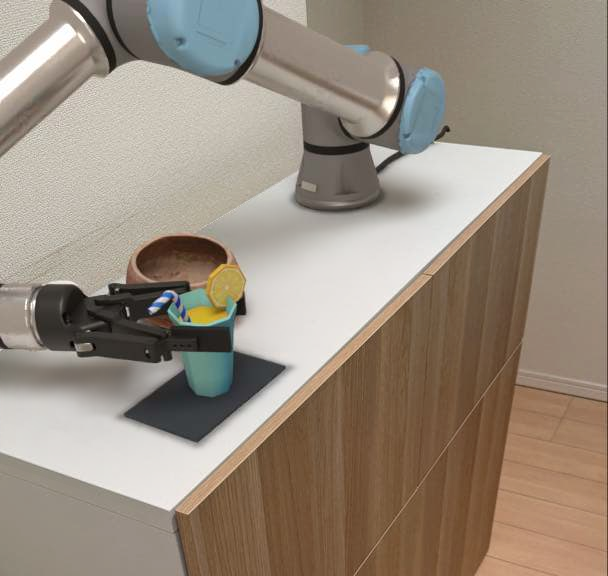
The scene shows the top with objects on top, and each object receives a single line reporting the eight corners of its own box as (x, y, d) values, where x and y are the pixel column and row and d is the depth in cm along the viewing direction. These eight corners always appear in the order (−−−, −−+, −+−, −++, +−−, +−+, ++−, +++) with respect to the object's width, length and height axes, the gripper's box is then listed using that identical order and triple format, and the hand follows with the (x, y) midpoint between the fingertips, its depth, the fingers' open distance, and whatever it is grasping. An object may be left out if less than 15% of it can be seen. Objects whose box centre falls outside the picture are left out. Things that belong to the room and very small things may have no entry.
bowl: (162, 359, 100) (148, 286, 93) (117, 314, 110) (101, 245, 103) (266, 324, 106) (260, 252, 99) (214, 284, 116) (205, 217, 109)
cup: (193, 430, 88) (176, 316, 77) (143, 405, 91) (120, 292, 80) (266, 369, 96) (261, 257, 84) (217, 348, 99) (206, 236, 87)
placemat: (216, 348, 102) (216, 345, 101) (285, 368, 97) (285, 365, 97) (124, 416, 91) (123, 413, 90) (197, 442, 86) (196, 439, 86)
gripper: (84, 306, 100) (256, 309, 97) (21, 393, 85) (222, 399, 82) (69, 249, 95) (251, 250, 92) (-1, 331, 80) (213, 335, 77)
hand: (237, 320), depth 87 cm, fingers closed on cup, 8 cm apart
